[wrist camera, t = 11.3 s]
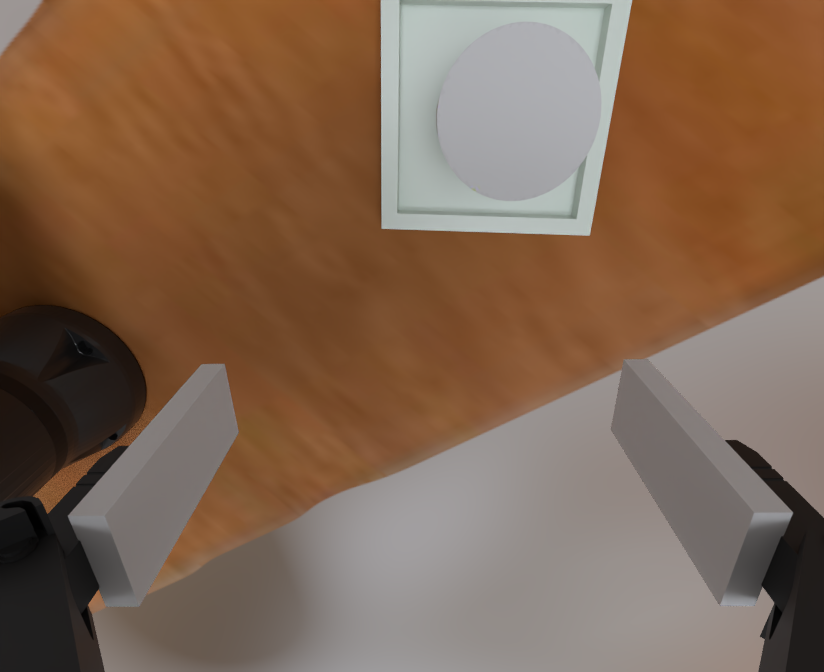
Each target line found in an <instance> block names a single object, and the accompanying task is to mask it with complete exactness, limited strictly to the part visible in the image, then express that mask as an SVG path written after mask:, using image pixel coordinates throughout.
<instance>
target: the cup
mask: <svg viewBox="0 0 824 672" xmlns="http://www.w3.org/2000/svg"><path fill="white" fill-rule="evenodd" d="M601 103H602V102H601V89H600V84H599V80H598V76H597V73H596V70H595V68H594V66H593V63H592V61H591V60H590V58H589V56H588V55H587V53H586V52H585V50H584V49H583V48H582V47H581V46H580V44H579V43H577V42H576V41H575V40H574V39H573V38H572V37H571V36H569V35H568V34H566V33H565V32H563V31H561V30H560V29H558V28H555V27H553V26H550V25H547V24H543V23H538V22H515V23H510V24H506V25H503V26H500V27H497V28H495V29H492V30H490V31H489V32H487V33H485V34H483V35H482V36H480V37H479V38H477V39H476V40H475V41H474V42H472V43H471V44H470V45H469V46H468V47H467V48H466V49H465V50H464V51H463V52H462V53H461V55H460V56H459V57H458V58H457V60H456V61H455V63H454V64H453V66H452V67H451V69H450V71H449V73H448V75H447V77H446V79H445V81H444V84H443V86H442V89H441V93H440V96H439V100H438V104H437V110H436V128H437V134H438V138H439V142H440V146H441V149H442V152H443V154H444V157H445V159H446V161H447V163H448V164H449V166H450V168H451V169H452V171H453V172H454V173H455V174H456V176H457V177H458V178H459V179H460V180H461V181H462V182H463V183H464V184H465V185H467V186H468V187H469V188H471V189H472V190H474V191H476V192H477V193H479V194H481V195H483V196H486V197H489V198H492V199H496V200H502V201H521V200H527V199H531V198H535V197H538V196H540V195H543V194H545V193H547V192H549V191H551V190H553V189H554V188H556V187H558V186H559V185H560V184H562V183H563V182H564V181H566V180H567V179H568V178H569V177H570V176H571V175H572V174H573V173H574V172H575V171H576V170H577V169H578V167H579V166H580V165H581V163H582V162H583V161H584V159H585V158H586V156H587V154H588V152H589V151H590V149H591V147H592V145H593V142H594V140H595V137H596V134H597V131H598V127H599V123H600V117H601Z"/></svg>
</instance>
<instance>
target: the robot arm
mask: <svg viewBox="0 0 824 672" xmlns="http://www.w3.org/2000/svg"><path fill="white" fill-rule="evenodd" d="M145 400H146V389H145V383H144V378H143V375H142V372H141V370H140V368H139V365H138V363H137V362H136V360H135V358H134V357H133V355H132V354H131V352H130V351H129V350H128V348H127V347H126V346H125V345H124V344H123V342H122V341H121V340H120V339H119V338H118V337H117V336H115V335H114V334H113V333H112V332H111V331H110V330H108V329H107V328H106V327H104V326H103V325H101V324H100V323H98V322H97V321H95V320H93V319H91V318H90V317H88V316H85V315H83V314H81V313H78V312H76V311H73V310H70V309H66V308H62V307H57V306H49V305H35V306H28V307H24V308H20V309H17V310H15V311H13V312H11V313H9V314H6V315H4V316H2V317H0V672H105V671H104V666H103V662H102V657H101V653H100V649H99V644H98V640H97V635H96V631H95V626H94V622H93V617H92V614H91V611H90V609H89V607H88V604H89V602H90V601H91V599H92V598H93V596H94V595H95V594H96V592H97V591H98V589H99V591H100V593H101V596H102V598H103V600H104V603H105V605H106V607H112V606H113V607H117V606H119V607H126V606H127V607H129V606H130V607H138V606H140V604H141V602H142V601H143V599H144V597H145V595H146V594H147V592H148V590H149V588H150V587H151V585H152V583H153V581H154V580H155V578H156V576H157V574H158V573H159V571H160V569H161V567H162V566H163V564H164V562H165V561H166V559H167V557H168V555H169V554H170V552H171V550H172V548H173V547H174V545H175V543H176V541H177V540H178V538H179V536H180V534H181V533H182V531H183V529H184V527H185V526H186V524H187V522H188V520H189V519H190V517H191V515H192V513H193V512H194V510H195V508H196V506H197V505H198V503H199V501H200V499H201V498H202V496H203V494H204V492H205V491H206V489H207V487H208V485H209V484H210V482H211V480H212V478H213V477H214V475H215V473H216V471H217V470H218V468H219V466H220V464H221V463H222V461H223V459H224V457H225V456H226V454H227V452H228V450H229V449H230V447H231V445H232V443H233V442H234V440H235V438H236V436H237V435H238V433H239V431H238V427H237V422H236V417H235V412H234V407H233V402H232V397H231V393H230V388H229V383H228V378H227V373H226V368H225V364H201V365H200V367H199V368H198V369H197V370H196V371H195V372H194V373H193V375H192V376H191V377H190V378H189V379H188V380H187V381H186V382H185V384H184V385H183V386H182V387H181V388H180V389H179V390H178V392H177V393H176V394H175V395H174V396H173V397H172V398H171V399H170V401H169V402H168V403H167V404H166V405H165V406H164V407H163V409H162V410H161V411H160V412H159V413H158V414H157V415H156V417H155V418H154V419H153V420H152V421H151V422H150V423H149V424H148V426H147V427H146V428H145V429H144V430H143V431H142V432H141V434H140V435H139V436H138V437H137V438H136V439H135V440H134V441H133V443H132V444H131V445H130V446H118V447H117V448H115V449H114V450H112V451H111V452H109V453H107V454H106V455H104V456H103V457H101V458H100V459H99V460H98V461H97V462H96V463H95V464H94V465H93V466H92V467H91V469H90V470H89V471H88V472H87V475H84V476H83V477H82V478H81V479H80V480H79V481H78V482H77V483H76V487H73V488H72V489H71V490H70V491H69V492H68V493H67V494H66V495H65V496H64V497H63V498H62V499H61V501H60V502H59V503H58V504H57V505H56V506H55V507H54V508H53V509H52V510H51V511H50V512H49V513H48V514H47V513H46V510H45V508H44V506H43V504H42V502H41V501H40V500H39V498H35V497H33V496H34V495H35V494H36V493H37V492H38V491H39V490H40V489H41V488H42V487H43V486H44V485H45V484H46V483H47V482H48V481H49V480H50V479H51V478H52V477H53V476H54V475H55V474H56V473H58V472H59V471H60V470H61V469H63V468H65V467H67V466H69V465H71V464H73V463H75V462H77V461H79V460H82V459H84V458H86V457H88V456H90V455H92V454H94V453H96V452H99V451H101V450H103V449H105V448H107V447H109V446H111V445H112V444H114V443H115V442H117V441H118V440H119V439H121V438H122V437H123V436H124V435H125V434H126V433H127V432H128V431H129V430H130V429H131V428H132V427H133V426H134V424H135V423H136V422H137V421H138V419H139V418H140V416H141V414H142V412H143V409H144V406H145ZM611 430H612V432H613V434H614V435H615V437H616V439H617V440H618V442H619V444H620V445H621V447H622V448H623V450H624V452H625V453H626V455H627V457H628V458H629V460H630V461H631V463H632V465H633V466H634V468H635V469H636V471H637V473H638V474H639V476H640V478H641V479H642V481H643V482H644V484H645V486H646V487H647V489H648V491H649V492H650V494H651V495H652V497H653V499H654V500H655V502H656V503H657V505H658V507H659V508H660V510H661V512H662V513H663V515H664V516H665V518H666V520H667V521H668V523H669V524H670V526H671V528H672V529H673V531H674V533H675V534H676V536H677V537H678V539H679V541H680V542H681V544H682V546H683V547H684V549H685V550H686V552H687V554H688V555H689V557H690V558H691V560H692V562H693V563H694V565H695V566H696V568H697V570H698V571H699V573H700V575H701V576H702V578H703V580H704V581H705V583H706V584H707V586H708V588H709V589H710V591H711V592H712V594H713V596H714V597H715V599H716V600H717V602H718V604H719V605H720V606H755V604H756V601H757V599H758V596H759V594H760V591H761V589H762V587H763V588H764V589H765V590H766V592H767V593H768V594H769V596H770V597H771V599H772V600H773V601H774V606H773V608H772V610H771V613H770V615H769V617H768V619H767V622H766V624H765V626H764V629H763V631H762V633H761V635H760V637H762V638H764V639H765V641H764V646H763V651H762V657H761V662H760V666H759V672H824V518H823V517H822V516H821V515H820V514H819V513H818V512H817V511H816V510H815V509H814V508H813V507H812V506H811V505H810V504H809V503H808V502H807V501H806V500H805V499H804V498H803V497H802V496H801V495H800V494H799V493H798V492H797V491H796V490H795V489H794V488H793V487H792V486H791V485H790V484H789V483H788V482H787V481H784V480H783V477H782V476H781V475H780V474H779V473H778V472H777V471H775V469H772V468H771V465H770V464H769V463H767V462H766V461H765V460H764V459H763V458H762V457H761V456H760V455H759V454H758V453H757V452H756V451H754V450H752V449H751V448H749V447H747V446H746V445H744V444H742V443H741V442H739V441H737V440H724V439H723V438H722V437H721V436H720V435H719V434H718V433H717V432H716V431H715V430H714V429H713V428H712V427H711V425H710V424H709V423H708V422H707V421H706V420H705V419H704V418H703V417H702V416H701V415H700V414H699V413H698V412H697V411H696V410H695V409H694V408H693V407H692V406H691V404H690V403H689V402H688V401H687V400H686V399H685V398H684V397H683V396H682V395H681V394H680V393H679V392H678V391H677V390H676V389H675V388H674V387H673V386H672V385H671V383H670V382H669V381H668V380H667V379H666V378H665V377H664V376H663V375H662V374H661V373H660V372H659V371H658V370H657V369H656V368H655V367H654V366H653V365H652V364H651V363H650V361H649V360H648V359H629V360H624V362H623V367H622V372H621V378H620V383H619V388H618V394H617V399H616V404H615V410H614V416H613V421H612V426H611Z"/></svg>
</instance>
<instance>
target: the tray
mask: <svg viewBox="0 0 824 672" xmlns="http://www.w3.org/2000/svg"><path fill="white" fill-rule="evenodd" d="M631 4H632V0H381V210H382V229H405V230H436V231H466V232H497V233H527V234H558V235H588V236H590V231H591V226H592V220H593V215H594V209H595V204H596V198H597V192H598V187H599V181H600V176H601V170H602V165H603V159H604V154H605V148H606V142H607V137H608V131H609V126H610V120H611V115H612V109H613V104H614V98H615V92H616V87H617V81H618V76H619V70H620V65H621V59H622V54H623V48H624V42H625V37H626V31H627V26H628V20H629V15H630V9H631ZM515 22H538V23H543V24H547V25H550V26H553V27H555V28H558V29H560V30H561V31H563V32H565V33H566V34H568V35H569V36H571V37H572V38H573V39H574V40H575V41H576V42H577V43H579V44H580V46H581V47H582V48H583V49H584V50H585V52H586V53H587V55H588V56H589V58H590V60H591V61H592V63H593V66H594V68H595V70H596V73H597V76H598V80H599V84H600V89H601V102H602V103H601V117H600V123H599V127H598V131H597V134H596V137H595V140H594V142H593V145H592V147H591V149H590V151H589V152H588V154H587V156H586V158H585V159H584V161H583V162H582V163H581V165H580V166H579V167H578V169H577V170H576V171H575V172H574V173H573V174H572V175H571V176H570V177H569V178H568V179H567V180H566V181H564V182H563V183H562V184H560V185H559V186H558V187H556V188H554V189H553V190H551V191H549V192H547V193H545V194H543V195H540V196H538V197H535V198H531V199H527V200H521V201H502V200H496V199H492V198H489V197H486V196H483V195H481V194H479V193H477V192H476V191H474V190H472V189H471V188H469V187H468V186H467V185H465V184H464V183H463V182H462V181H461V180H460V179H459V178H458V177H457V176H456V174H455V173H454V172H453V171H452V169H451V168H450V166H449V164H448V163H447V161H446V159H445V157H444V154H443V152H442V149H441V146H440V142H439V138H438V134H437V128H436V110H437V104H438V100H439V96H440V93H441V89H442V86H443V84H444V81H445V79H446V77H447V75H448V73H449V71H450V69H451V67H452V66H453V64H454V63H455V61H456V60H457V58H458V57H459V56H460V55H461V53H462V52H463V51H464V50H465V49H466V48H467V47H468V46H469V45H470V44H471V43H472V42H474V41H475V40H476V39H477V38H479V37H480V36H482V35H483V34H485V33H487V32H489V31H490V30H492V29H495V28H497V27H500V26H503V25H506V24H510V23H515Z"/></svg>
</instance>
